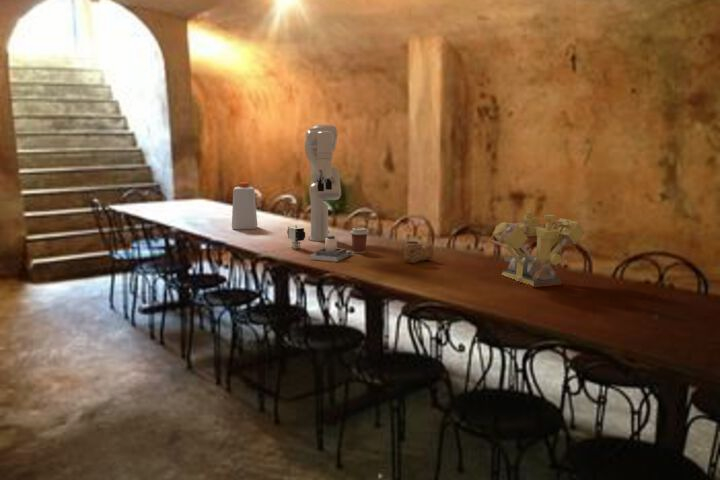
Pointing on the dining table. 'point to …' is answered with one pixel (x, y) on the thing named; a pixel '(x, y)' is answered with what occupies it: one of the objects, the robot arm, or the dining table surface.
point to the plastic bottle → (244, 208)
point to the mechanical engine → (547, 246)
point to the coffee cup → (359, 239)
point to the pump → (331, 244)
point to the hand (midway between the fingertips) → (324, 190)
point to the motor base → (330, 255)
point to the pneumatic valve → (296, 235)
